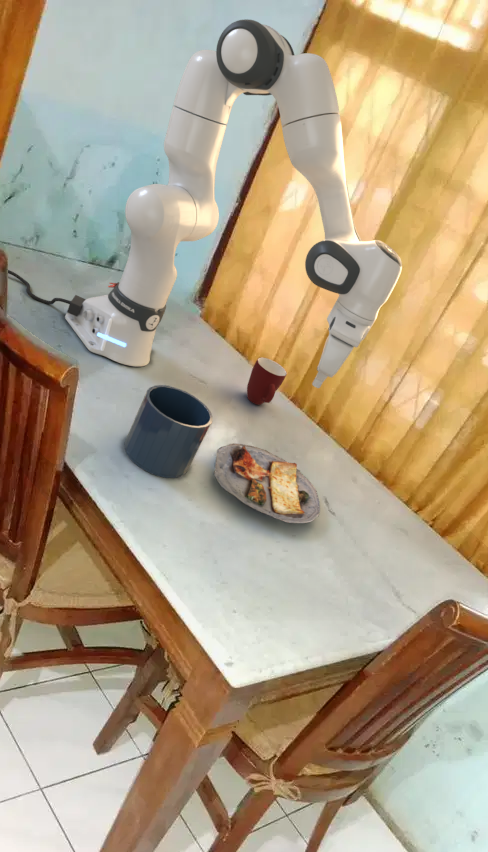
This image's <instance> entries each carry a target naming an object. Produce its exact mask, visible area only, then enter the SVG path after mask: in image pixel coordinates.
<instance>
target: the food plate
mask: <svg viewBox="0 0 488 852" xmlns="http://www.w3.org/2000/svg"><path fill="white" fill-rule="evenodd" d="M213 475H214V477H215V479H216V481H217V482H218V483H219V485H220V486H221V488H222V489H223V490H224V491H227V493H229V494H230V495H233V496H234V497H235V498H237V499H238V500H239V501H240V502H242V503H243V504H245V505H246V506H248V507H250V508H252V509H253V510H255V511H257V512H261V513H263V514H264V515H267V516H269V517H271V518H274V519H276V520H280V521H282V522H285V523H290V524H305V523H306V524H307V523H311V522H313V521H315V520H316V519H317V518H318V517H319V516H320V513H321V505H320V499H319V494H318V491H317V489H316V487H315V486H314V484H312V482H311V481H310V479H309V478H307V477H306V475H304V474H303V473H302V472H301V470H300V469H298V464H297V462H296V463H295V462H289V461H286V460H285V459H283V458H282V457H279V456H278V455H276V454H274V453H271V452H270V451H268V450H266V449H264V448H260V447H257V446H254V445H249V444H241V443H235V442H234V443H229V444H226V445H223V446H221V447H219V448H218V449H217V450H216V456H215V464H214V472H213Z"/></svg>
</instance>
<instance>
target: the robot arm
mask: <svg viewBox="0 0 488 852" xmlns="http://www.w3.org/2000/svg"><path fill="white" fill-rule="evenodd" d="M242 94H243V95H244V96H273V98H274V100H275V102H276V104H277V107H278V111H279V118H280V124H281V125H280V126H281V130H282V136H283V141H284V146H285V149H286V152H287V155H288V158H289V160H290V164H291V165H292V166H293V168H294V169H295V170H297V171H298V172H299V173H300V174H301V175H302V176H303V177H304V178H305V179H306V180H307V181H308V182H309V184H310V185H311V187H312V188H313V190H314V193H315V195H316V198H317V202H318V207H319V211H320V216H321V221H322V226H323V231H324V232H323V233H324V239H322V240H320V241H318V242H316V243H315V244H313V245H312V246H311V248H310V249H309V250H308V252H307V254H306V257H305V261H304V262H305V263H304V266H305V267H304V269H305V273H306V276H307V277H308V279H309V281H310V282H312V284H313V285H315V286H317V287H319V288H321V289H323V290H326V291H328V292H331V293H334V294H338V297H337V299H336V301H335V303H334V304H333V306H332V308H331V310H330V312H329V314H328V316H327V317H326V321H327V322H328V336H327V337H326V340H325V342H324V346H323V349H322V353H321V355H320V359H319V362H318V365H317V367H316V371H317V373H316V375H315V377H314V379H313V380H312V382H311V383H312V386H313V387H314V388H316V389H320V388H321V387H322V385H323V383H324V382H325V381H326V379H327V378H328V377H329V378H334V376H335V375H336V374H337V373H338V372H339V370H340V369H341V367H343V365H344V363H345V361H346V360H347V359H348V357H349V356H350V354H351V353H352V351H353V350H354V348H358V347H359V345H360V344H361V343H362V341H364V340H365V339H366V338H367V336H368V334H369V332H370V330H371V329H372V327H373V325H374V324H375V323H376V320H377V318H378V314H379V311H380V310H381V307H383V305H384V304H386V303H387V301H388V299H389V298H390V296H391V295H392V292H393V291H394V289H395V287H396V285H397V283H398V280H399V278H400V276H401V273H402V269H403V262H402V259H401V257H400V255H399V253H397V252H396V250H395V249H393V248H392V247H391V246H390V245H389V244H387V243H385V242H384V241H382V240H378V239H373V240H368V241H364V240H363V239H362V238H361V236H360V235H359V232H358V231H357V227H356V225H355V220H354V213H353V210H352V204H351V198H350V193H349V187H348V181H347V177H346V176H347V175H346V165H345V158H344V157H345V155H344V141H343V130H342V129H343V128H342V120H341V115H340V107H339V102H338V101H339V100H338V97H337V91H336V88H335V84H334V81H333V77H332V74H331V71H330V68H329V65H328V63H327V61H326V60H325V59H324V58H323V57H322V56H320V55H318V54H315V53H311V52H305V53H304V52H303V53H299V54H295V51H294V50H293V47H292V45H291V44H290V42H289V40H288V39H287V38H286V37H285V36H284V35H282V34H280V32H278V31H277V30H276V29H275V28H273V27H271V26H269V25H267V24H262V23H261V22H259V21H256V20H254V19H248V18H247V19H245V18H244V19H238V20H235V21H233V22H231V23H230V24H228V25H227V26H226V27H225V28H224V30H222V32H221V34H220V35H219V37H218V39H217V44H216V50H213V49H201V50H197V51H195V52H194V53H193V54H192V55H191V56H190V58H189V60H188V62H187V64H186V66H185V68H184V71H183V73H182V76H181V79H180V82H179V84H178V86H177V90H176V93H175V97H174V100H173V105H172V109H171V113H170V117H169V121H168V125H167V128H166V132H165V137H164V140H163V141H164V142H163V150H164V154H165V155H166V158H167V160H168V169H169V170H168V183H167V184H163V183H152V184H148V185H143V186H141V187H138V188H136V189H134V190H133V191H132V192H131V193H130V195H129V196H128V198H127V200H126V202H125V210H124V213H125V220H126V223H127V225H128V227H129V229H130V247H129V253H128V258H127V261H126V263H125V266H124V269H123V271H122V275H121V278H120V280H119V282H109V283H108V284H110V285H108V286H107V288H112V289H111V290H110V292H109V293H108V294H102V295H96V296H92V297H91V296H90V297H87V298H84V297H81V296H79V295H77V294H75V295H74V296H73V298H72V299H71V300H69V299H66V298H62V297H54V298H53V299H51V300H46V299H43V298H41V297H39V296H37V295H36V294H34V293H33V292H32V291H31V285H30V283H29V282H28V281H27V280H26V279H25V278H23V277H22V276H21V275H19V274H18V273H16V272H14V271H12V270H10V269H7V270H8V273H7V274H9V275H11V276H13V277H15V278H16V279H18V280H19V281H20V282H21V283H23V284H24V285H25V286H26V289H25V290H26V291H25V292H26V294H27V295H28V296H30V297H31V298H33V299H34V300H36V301H38V302H40V303H43V304H47V305H54V304H55V303H56V302H61V303H65V304H67V305H68V308H67V311H66V313H65V316H64V319H65V320H66V321H67V323H68V324H69V326H70V327H71V329H72V330H73V331H74V333H75V334H76V335H77V336H78V338H79V339H80V341H81V342H82V344H83V345H84V346H85V347H86V348H87V350H88V351H89V352H91V353H93V354H96V355H99V356H103V357H105V358H108V359H109V360H112V361H114V362H116V363H119V364H121V365H125V366H129V367H136V368H137V367H144V366H147V365H148V364H149V363H150V361H151V354H152V350H153V343H154V339H155V336H156V332H157V329H158V327H159V325H160V323H161V321H162V319H163V317H164V314H165V312H166V309H167V305H166V304H167V302H168V299H169V297H170V295H171V293H172V290H173V287H174V285H175V283H176V281H177V277H178V270H177V268H176V265H175V256H176V251H177V248H178V245H179V244H180V243H182V242H197V241H200V240H202V239H204V238H206V237H208V236H210V235H211V234H212V233H214V231H215V230H216V228H217V226H218V224H219V219H220V214H219V213H220V211H219V206H218V203H217V202H216V197H215V189H216V187H215V185H216V170H217V164H218V159H219V155H220V153H221V152H220V151H221V149H222V144H223V140H224V137H225V134H226V129H227V126H228V124H229V123H228V122H229V118H230V115H231V111H232V108H233V106H234V103H235V101H236V100H237V99H238V97H239V96H240V95H242Z"/></svg>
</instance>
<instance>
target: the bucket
mask: <svg viewBox="0 0 488 852" xmlns="http://www.w3.org/2000/svg"><path fill="white" fill-rule="evenodd" d="M213 419H214V417H213V415H212V412H211V410H210V409H209V407H208V406H207V405H206V404H205V403H204V402H203V401H202V400H200V399H199V398H198V397H196V396H195V395H193V394H192V393H189V392H187V391H186V390H183V389H180V388H178V387H174V386H171V385H164V384H157V385H153V386H150V387H149V388H148V389H147V390H146V392H145V394H144V396H143V399H142V401H141V403H140V405H139V408H138V410H137V413H136V414H135V417H134V420H133V422H132V424H131V427H130V429H129V431H128V433H127V435H126V438H125V441H124V445H123V448H124V452H125V454H126V456H127V457H128V458H129V459H130V460H131V462H132V463H133V464H135V465H136V466H137V467H138V468H140V469H142V471H143V470H144V471H145V472H147V473H149V474H152V475H154V476H157V477H159V478H166V479H177V478H180V477H181V478H182V477H184V475H186V474H187V473H188V471H189V469H190V467H191V465H192V463H193V461H194V459H195V458H196V456H197V453H198V451H199V449H200V447H201V446H202V443H203V441H204V439H205V437H206V435H207V433H208V431H209V429H210V427H211V425H212V423H213Z"/></svg>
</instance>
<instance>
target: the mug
mask: <svg viewBox="0 0 488 852" xmlns="http://www.w3.org/2000/svg"><path fill="white" fill-rule="evenodd" d="M287 375H288V373H287V370H286V369H285V368H284V367H283V366H282V365H280V363H278V362H276V361H274V360H272V359H270V358H268V357H262V356H261V357H257V360H256V361H255V363H254V364H253V367H252V369H251V373H250V376H249V378H248V382H247V385H246V397H247V400H248V401H249V402H250V403H252V404H254V405H256V406H258V405H259V406H261V405H262V404H264V403H266V404H268V403H271V402H272V401H273V399H274V397H275V394H276V392H277V391H278V389H279V388H280V387H281V385H282V384H283V382H284V381H285V379H286V377H287Z"/></svg>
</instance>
